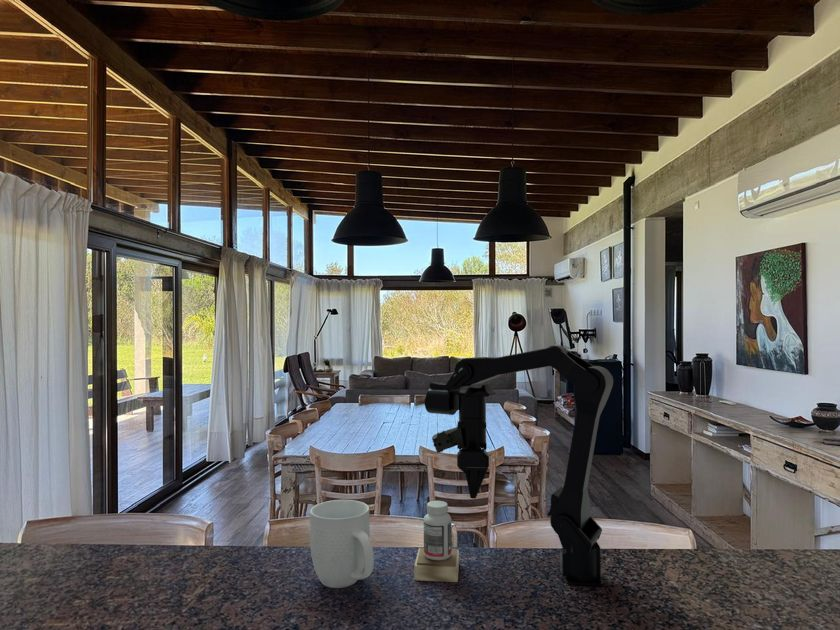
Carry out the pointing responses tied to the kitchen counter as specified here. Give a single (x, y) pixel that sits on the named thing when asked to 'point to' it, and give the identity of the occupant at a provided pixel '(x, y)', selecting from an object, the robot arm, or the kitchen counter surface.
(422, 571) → the plinth
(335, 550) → the mug
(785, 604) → the kitchen counter surface
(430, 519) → the pill bottle
